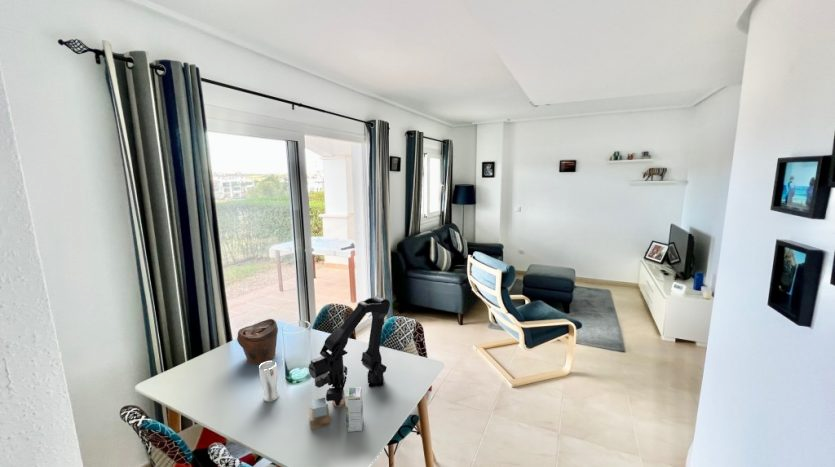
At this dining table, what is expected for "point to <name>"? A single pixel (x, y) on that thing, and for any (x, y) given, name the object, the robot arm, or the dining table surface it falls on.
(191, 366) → the dining table surface
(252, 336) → the brown plant pot
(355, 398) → the syrup box
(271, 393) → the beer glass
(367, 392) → the dining table surface
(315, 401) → the slate block
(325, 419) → the walnut base block
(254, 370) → the dining table surface
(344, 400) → the tan rounded tapered piece
